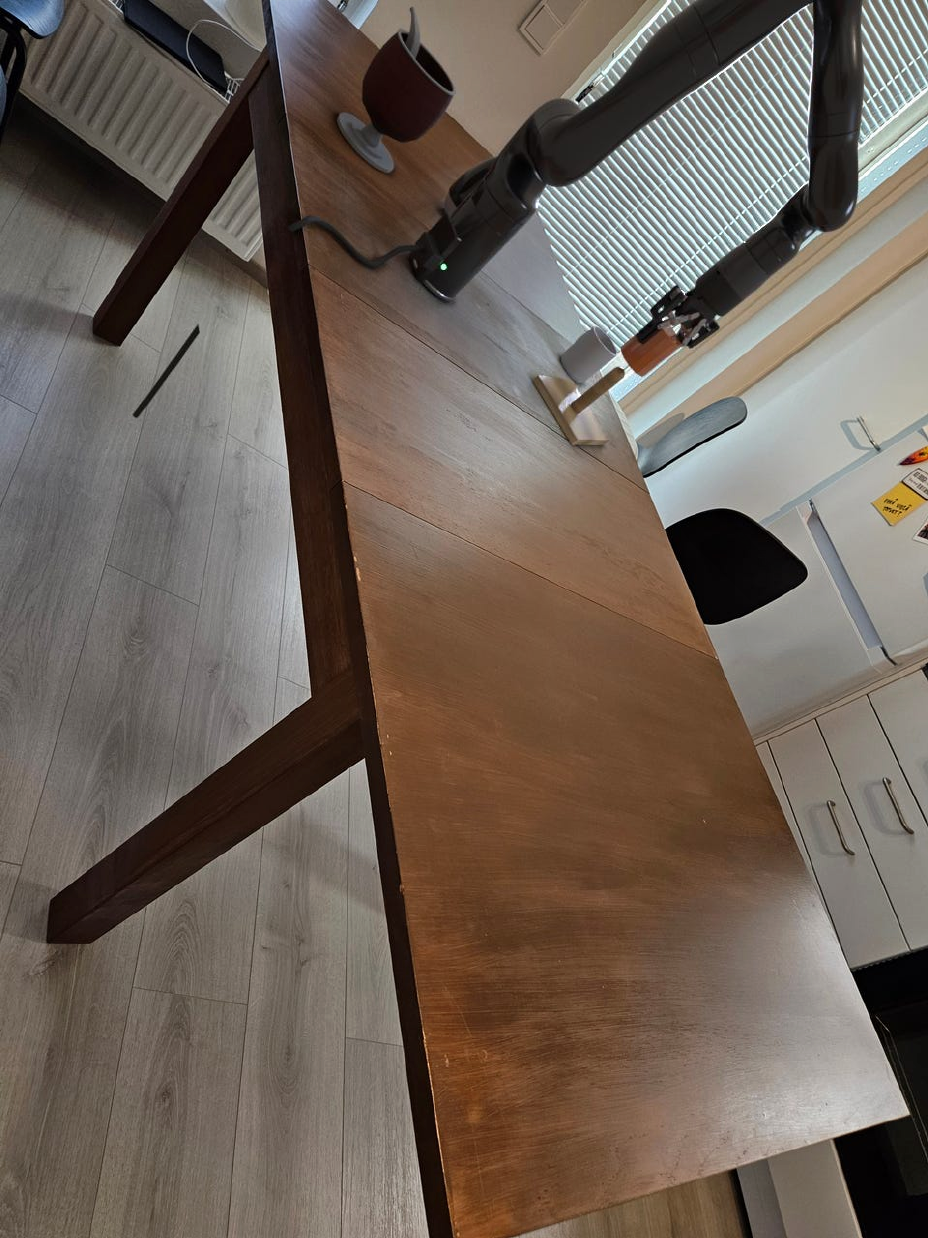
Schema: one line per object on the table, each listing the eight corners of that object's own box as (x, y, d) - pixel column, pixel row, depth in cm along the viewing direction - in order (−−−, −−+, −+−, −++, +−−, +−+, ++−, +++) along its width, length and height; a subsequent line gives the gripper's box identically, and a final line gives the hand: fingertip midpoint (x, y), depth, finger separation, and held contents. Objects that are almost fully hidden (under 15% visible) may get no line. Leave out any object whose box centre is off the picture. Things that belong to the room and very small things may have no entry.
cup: (562, 371, 158) (597, 340, 153) (555, 340, 164) (588, 310, 159) (585, 390, 162) (620, 361, 157) (577, 360, 168) (610, 331, 163)
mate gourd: (407, 183, 148) (482, 93, 137) (360, 165, 136) (438, 64, 125) (364, 117, 149) (435, 22, 138) (315, 94, 138) (388, -12, 127)
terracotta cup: (629, 368, 137) (667, 337, 132) (616, 341, 140) (653, 310, 135) (648, 381, 141) (685, 351, 137) (635, 355, 144) (671, 325, 140)
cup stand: (571, 444, 142) (628, 399, 135) (532, 380, 144) (586, 332, 137) (603, 445, 153) (657, 403, 146) (566, 385, 155) (618, 341, 148)
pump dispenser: (474, 252, 155) (531, 192, 147) (434, 214, 150) (491, 149, 142) (475, 231, 162) (530, 172, 154) (437, 193, 157) (491, 130, 149)
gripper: (742, 282, 136) (661, 347, 145) (702, 242, 125) (619, 315, 135) (760, 313, 133) (677, 378, 142) (722, 275, 122) (635, 348, 132)
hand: (649, 347), depth 138 cm, fingers closed on terracotta cup, 6 cm apart
